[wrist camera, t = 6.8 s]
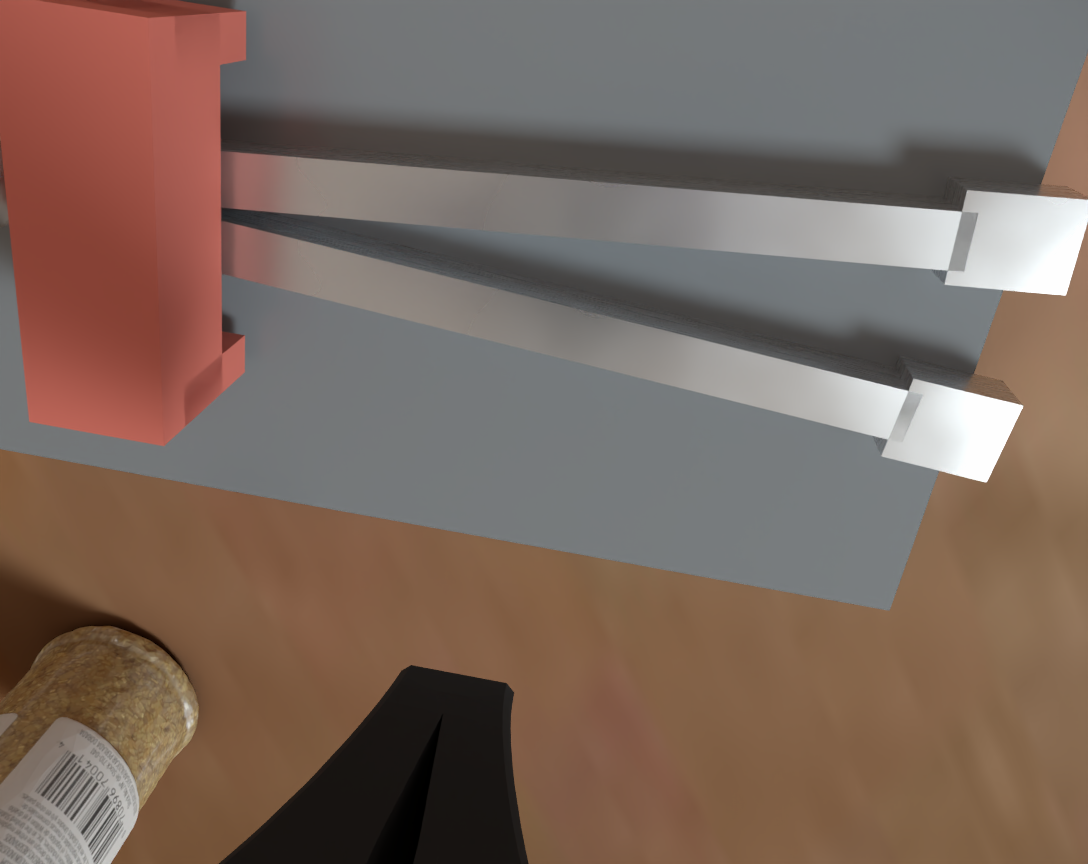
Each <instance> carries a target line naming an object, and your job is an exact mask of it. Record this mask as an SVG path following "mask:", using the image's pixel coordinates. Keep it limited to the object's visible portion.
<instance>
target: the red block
mask: <svg viewBox="0 0 1088 864" xmlns="http://www.w3.org/2000/svg"><path fill="white" fill-rule="evenodd" d="M243 60H246V11H242V10H235V9H229V8H223V7H216V6H210V5H204V4H197V3H191V2H185V1H178V0H0V141H1V150H2V160H3V170H4V180H5V189H6V199H7V209H8V219H9V228H10V238H11V248H12V258H13V268H14V277H15V287H16V297H17V307H18V316H19V326H20V336H21V346H22V356H23V365H24V375H25V385H26V395H27V404H28V414H29V422H33V423H38V424H44V425H49V426H55V427H60V428H66V429H71V430H77V431H82V432H88V433H94V434H99V435H105V436H110V437H116V438H121V439H127V440H132V441H138V442H144V443H149V444H155V445H160V446H165V445H166V444H167V443H168V442H169V441H170V440H171V439H172V438H173V437H175V436H176V435H177V434H178V433H179V432H180V431H181V430H182V429H183V428H184V427H185V426H187V425H188V424H189V423H190V422H191V421H192V420H193V419H194V418H195V417H196V416H197V415H199V414H200V413H201V412H202V411H203V410H204V409H205V408H206V407H207V406H208V405H209V404H211V403H212V402H213V401H214V400H215V399H216V398H217V397H218V396H219V395H220V394H221V393H223V392H224V391H225V390H226V389H227V388H228V387H229V386H230V385H231V384H232V383H233V382H235V381H236V380H237V379H238V378H239V377H240V376H241V375H242V374H243V373H244V372H245V335H240V334H235V333H229V332H223V331H222V274H221V132H220V65H222V64H227V63H233V62H238V61H243Z"/></svg>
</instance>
